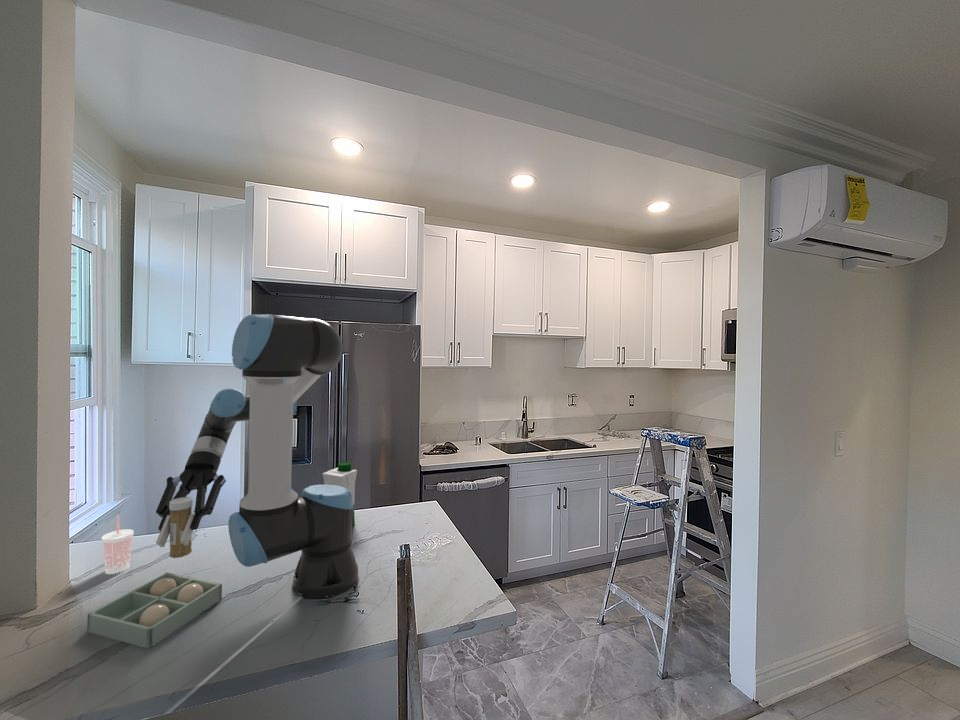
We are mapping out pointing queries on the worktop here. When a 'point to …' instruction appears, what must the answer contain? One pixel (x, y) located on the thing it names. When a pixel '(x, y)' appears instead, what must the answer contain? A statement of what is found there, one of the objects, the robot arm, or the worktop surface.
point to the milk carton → (342, 479)
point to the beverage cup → (117, 549)
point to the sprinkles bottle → (179, 526)
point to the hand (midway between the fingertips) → (172, 543)
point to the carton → (126, 610)
